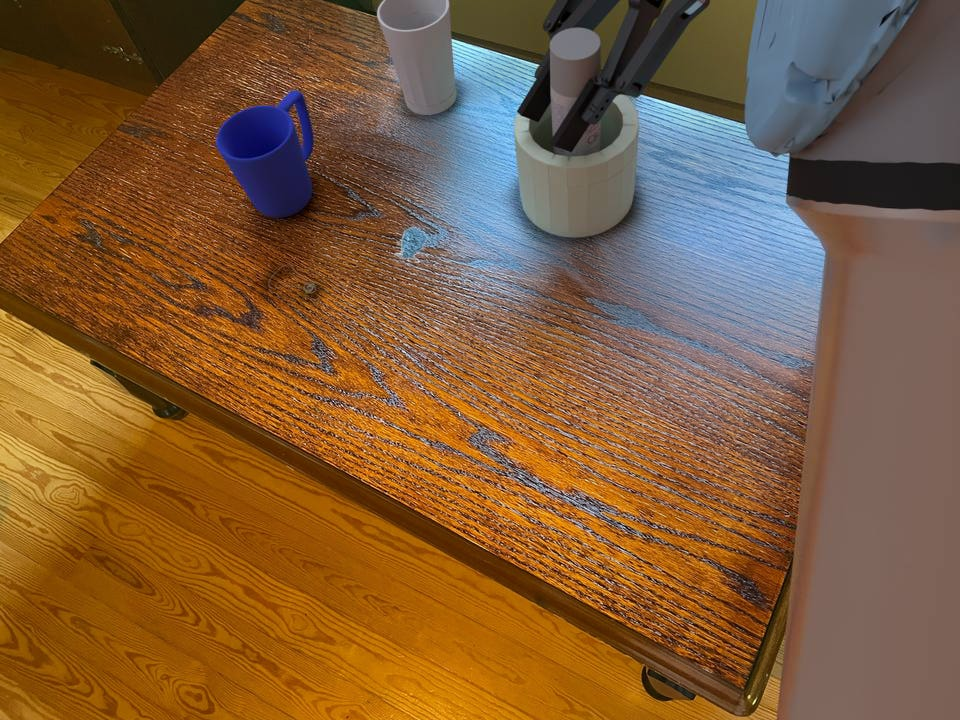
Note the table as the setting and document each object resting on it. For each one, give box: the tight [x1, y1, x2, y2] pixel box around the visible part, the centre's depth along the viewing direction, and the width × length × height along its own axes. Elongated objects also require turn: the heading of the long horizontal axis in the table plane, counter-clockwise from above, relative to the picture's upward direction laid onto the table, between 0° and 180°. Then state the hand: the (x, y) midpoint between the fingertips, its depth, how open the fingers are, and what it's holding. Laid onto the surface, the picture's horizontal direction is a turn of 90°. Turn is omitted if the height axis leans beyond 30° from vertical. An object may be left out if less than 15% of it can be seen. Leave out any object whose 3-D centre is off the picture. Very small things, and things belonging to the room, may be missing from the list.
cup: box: [376, 0, 458, 116], centre depth 91 cm, size 8×8×12 cm
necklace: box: [268, 264, 317, 294], centre depth 82 cm, size 3×5×1 cm, turn 80°
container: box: [549, 28, 602, 157], centre depth 75 cm, size 5×5×15 cm
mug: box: [215, 89, 315, 219], centre depth 86 cm, size 8×12×10 cm
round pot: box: [513, 94, 640, 239], centre depth 80 cm, size 12×12×10 cm
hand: (544, 131), depth 74 cm, fingers closed on container, 5 cm apart
